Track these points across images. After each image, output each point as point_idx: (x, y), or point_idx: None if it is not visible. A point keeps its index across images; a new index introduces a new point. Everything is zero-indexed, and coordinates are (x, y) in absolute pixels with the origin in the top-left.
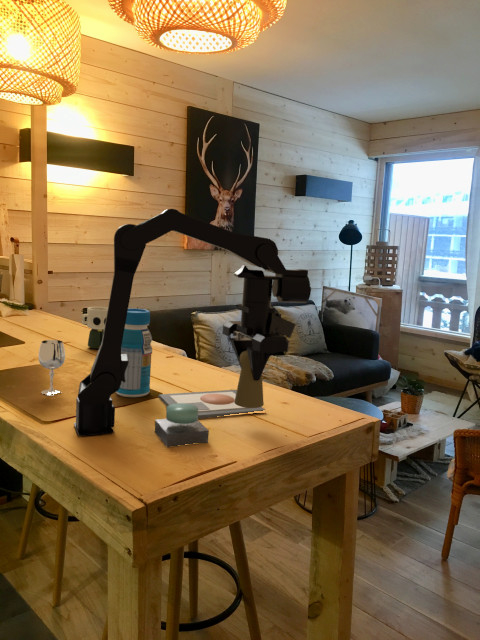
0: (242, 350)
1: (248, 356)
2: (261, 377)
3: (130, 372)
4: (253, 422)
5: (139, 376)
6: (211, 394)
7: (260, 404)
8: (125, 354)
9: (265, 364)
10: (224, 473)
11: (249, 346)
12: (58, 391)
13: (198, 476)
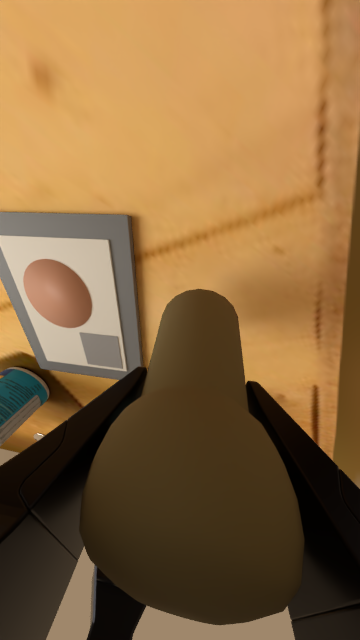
0: (70, 542)
1: (293, 624)
2: (235, 362)
3: (14, 429)
4: (180, 278)
5: (17, 413)
6: (30, 294)
7: (237, 318)
8: (99, 580)
9: (353, 485)
10: (335, 411)
11: (1, 589)
12: (41, 437)
13: (319, 431)
